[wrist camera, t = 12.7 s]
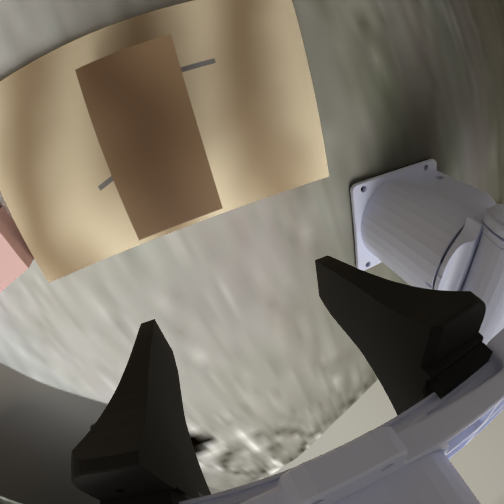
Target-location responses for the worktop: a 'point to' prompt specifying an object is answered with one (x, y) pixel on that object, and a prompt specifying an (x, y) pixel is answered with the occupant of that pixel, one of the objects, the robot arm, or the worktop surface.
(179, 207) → the block
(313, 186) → the worktop surface
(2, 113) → the board
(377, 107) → the worktop surface
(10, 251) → the eraser crumb
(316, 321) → the worktop surface
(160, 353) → the robot arm
